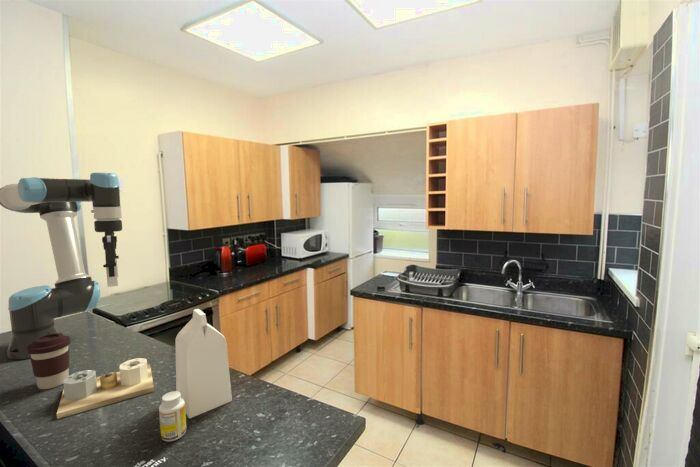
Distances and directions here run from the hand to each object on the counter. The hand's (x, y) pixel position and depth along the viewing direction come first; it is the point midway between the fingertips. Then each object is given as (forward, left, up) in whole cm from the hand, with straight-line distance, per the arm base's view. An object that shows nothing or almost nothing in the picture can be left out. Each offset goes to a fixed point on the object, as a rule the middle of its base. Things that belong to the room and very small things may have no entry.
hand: (113, 281), depth 114 cm
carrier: (+20, -2, -29) cm, 35 cm away
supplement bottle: (+51, +11, -29) cm, 60 cm away
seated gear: (+19, -9, -27) cm, 35 cm away
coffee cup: (+5, -17, -29) cm, 34 cm away
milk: (+40, +20, -29) cm, 53 cm away
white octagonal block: (+19, +4, -27) cm, 34 cm away
